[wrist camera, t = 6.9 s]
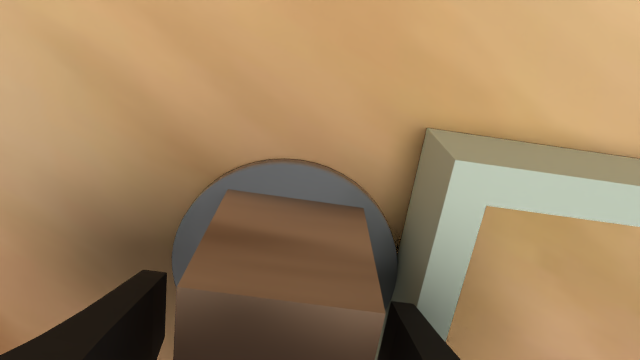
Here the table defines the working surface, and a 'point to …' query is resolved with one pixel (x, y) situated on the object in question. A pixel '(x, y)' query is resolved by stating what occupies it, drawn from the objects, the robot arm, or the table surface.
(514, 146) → the green rectangular frame
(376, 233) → the coaster
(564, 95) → the table surface
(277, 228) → the block
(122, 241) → the table surface
